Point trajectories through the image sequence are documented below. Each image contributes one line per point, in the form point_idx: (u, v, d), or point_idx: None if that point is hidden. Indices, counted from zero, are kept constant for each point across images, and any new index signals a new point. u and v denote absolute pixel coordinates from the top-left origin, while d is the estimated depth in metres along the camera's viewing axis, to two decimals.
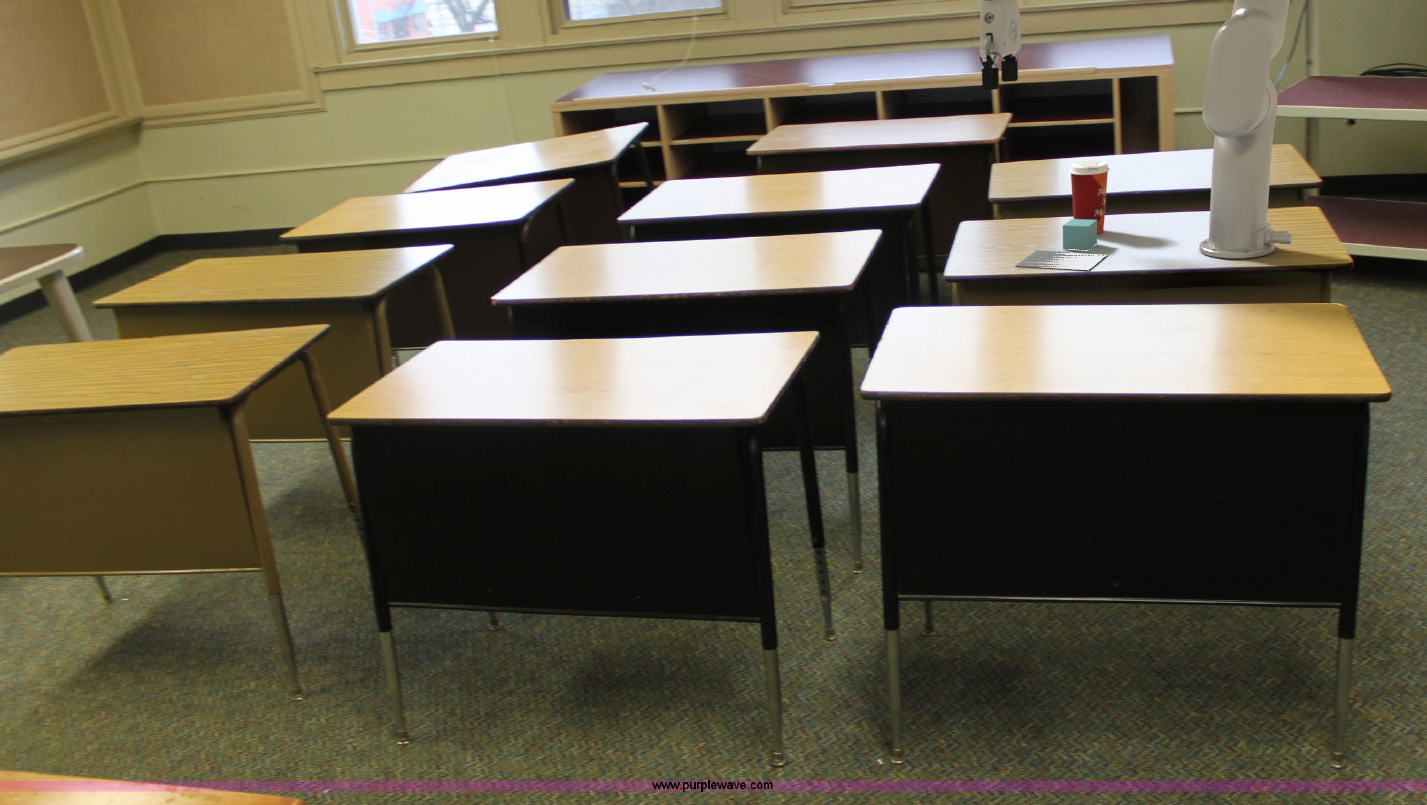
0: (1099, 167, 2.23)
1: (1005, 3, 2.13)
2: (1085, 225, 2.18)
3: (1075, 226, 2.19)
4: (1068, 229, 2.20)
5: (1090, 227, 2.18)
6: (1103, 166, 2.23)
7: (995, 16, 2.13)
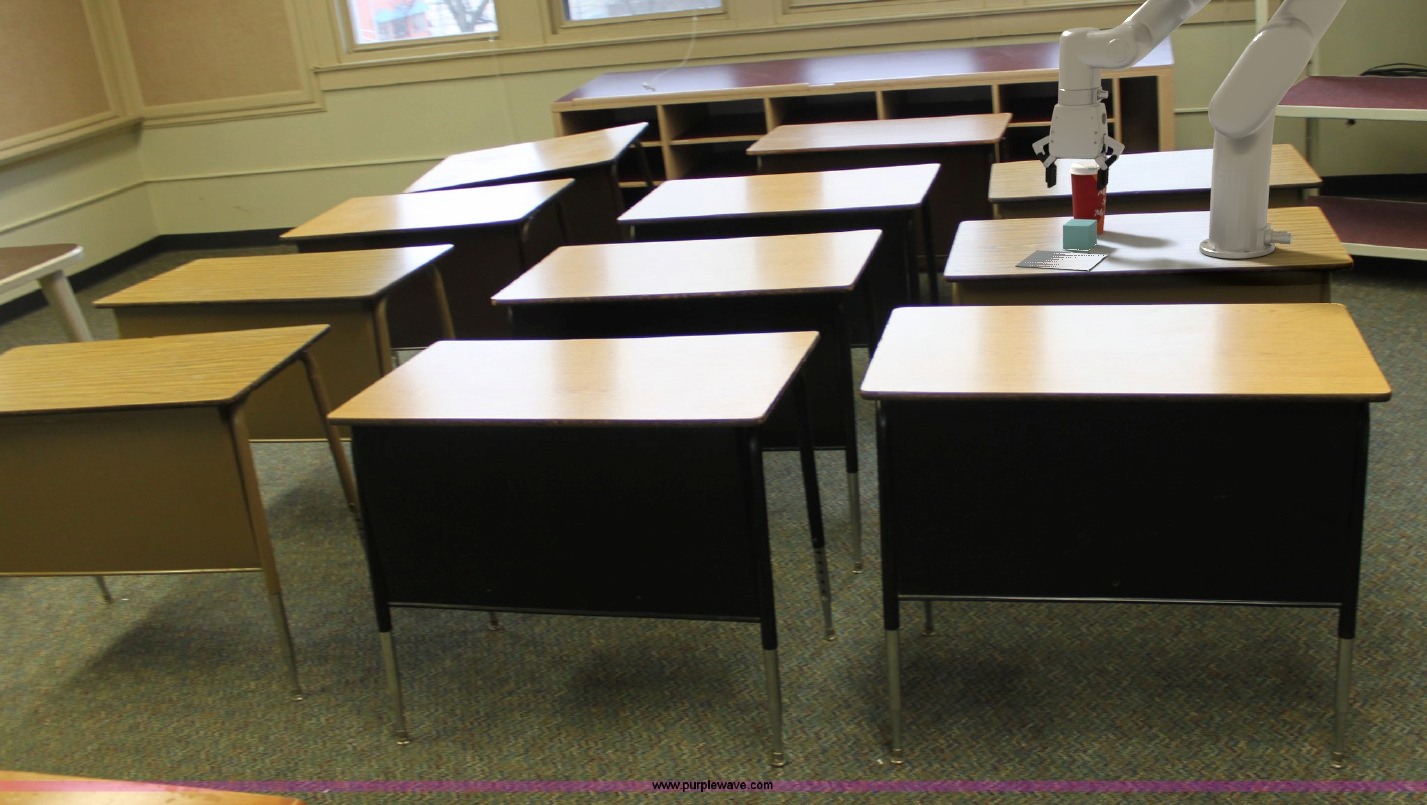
0: (1099, 167, 2.23)
1: None
2: (1085, 225, 2.18)
3: (1075, 226, 2.19)
4: (1068, 229, 2.20)
5: (1090, 227, 2.18)
6: None
7: (1106, 116, 2.11)
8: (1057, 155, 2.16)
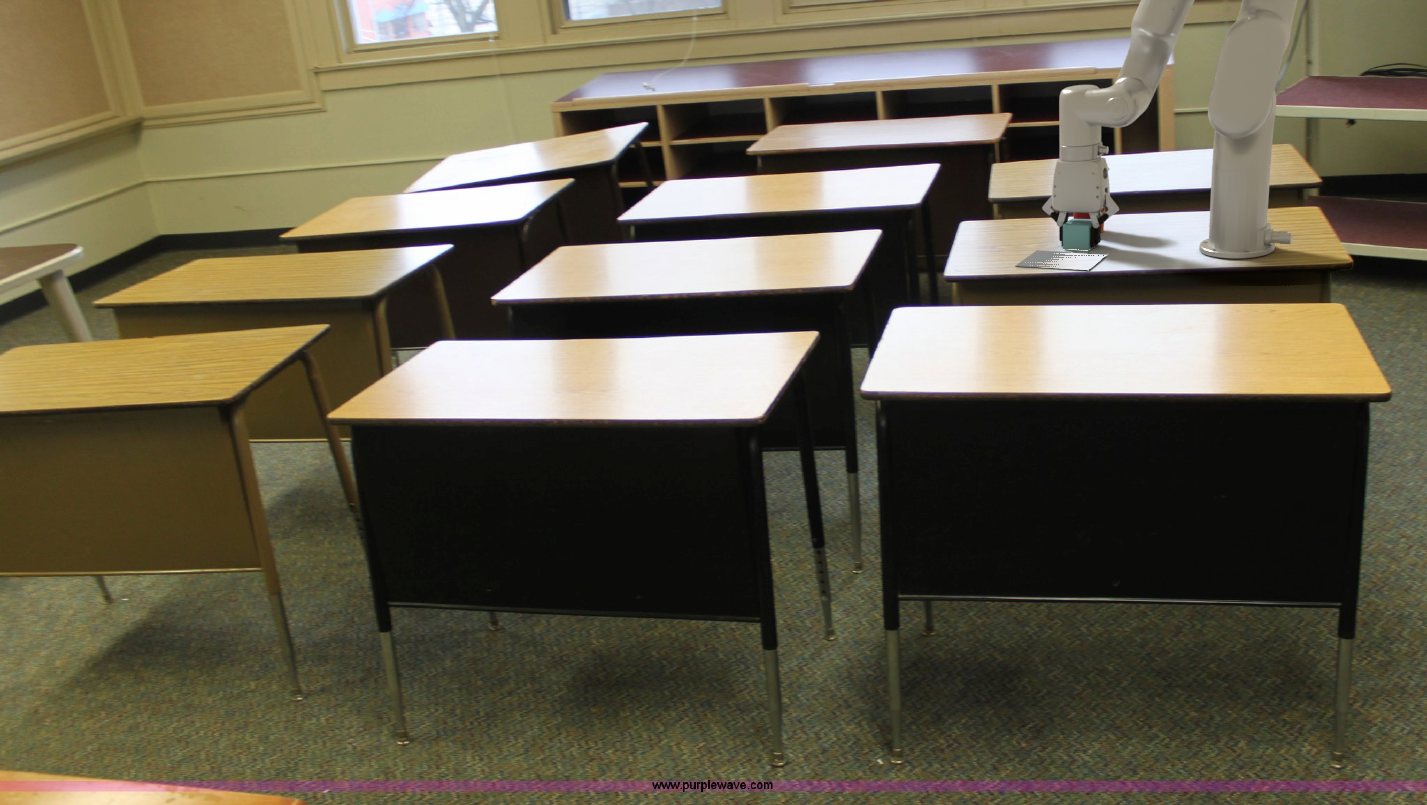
0: None
1: None
2: (1085, 225, 2.18)
3: (1075, 226, 2.19)
4: (1068, 229, 2.20)
5: (1090, 227, 2.18)
6: None
7: (1107, 171, 2.15)
8: (1060, 209, 2.19)
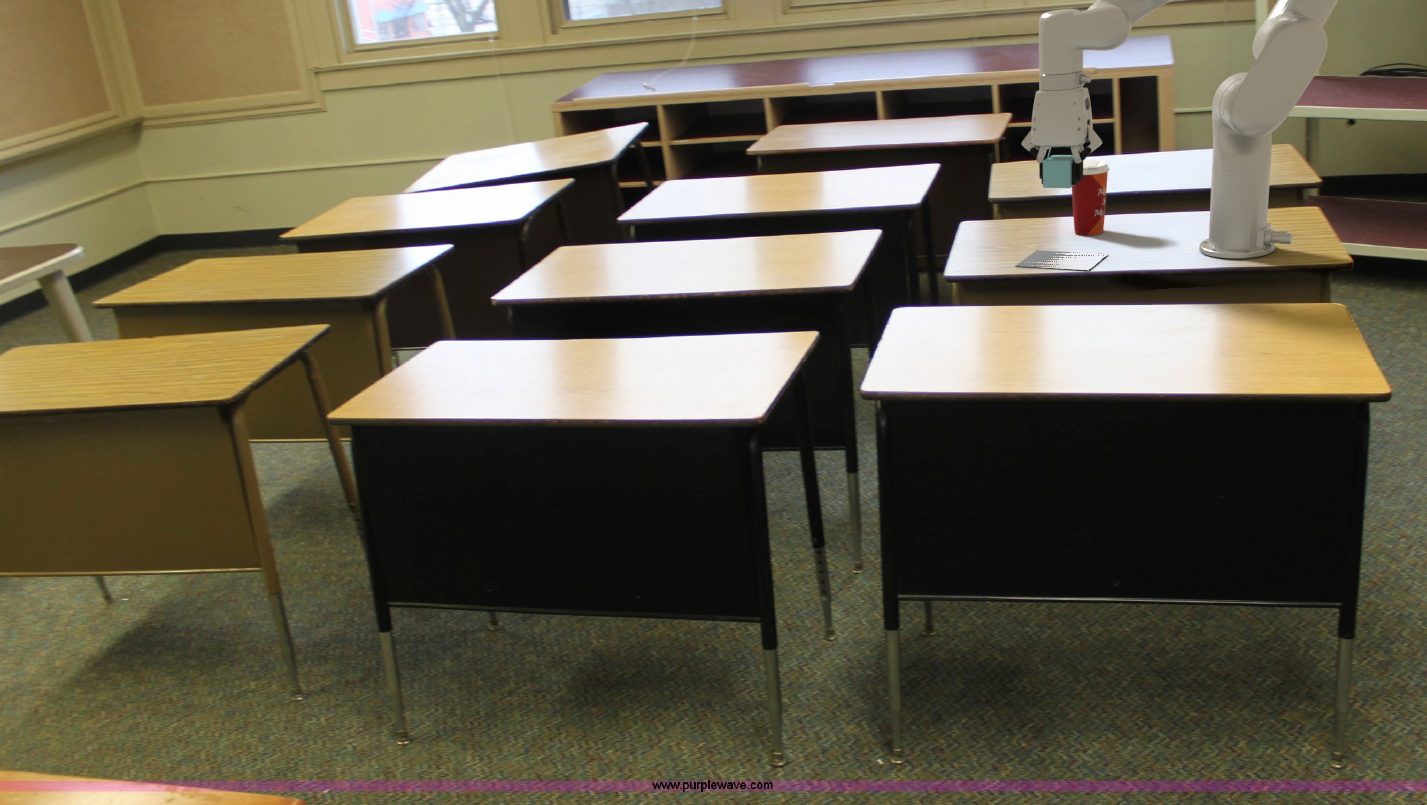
0: (1099, 167, 2.23)
1: None
2: (1066, 160, 2.05)
3: (1056, 161, 2.06)
4: (1048, 165, 2.07)
5: (1072, 162, 2.05)
6: (1103, 166, 2.23)
7: (1089, 101, 2.02)
8: (1040, 143, 2.07)
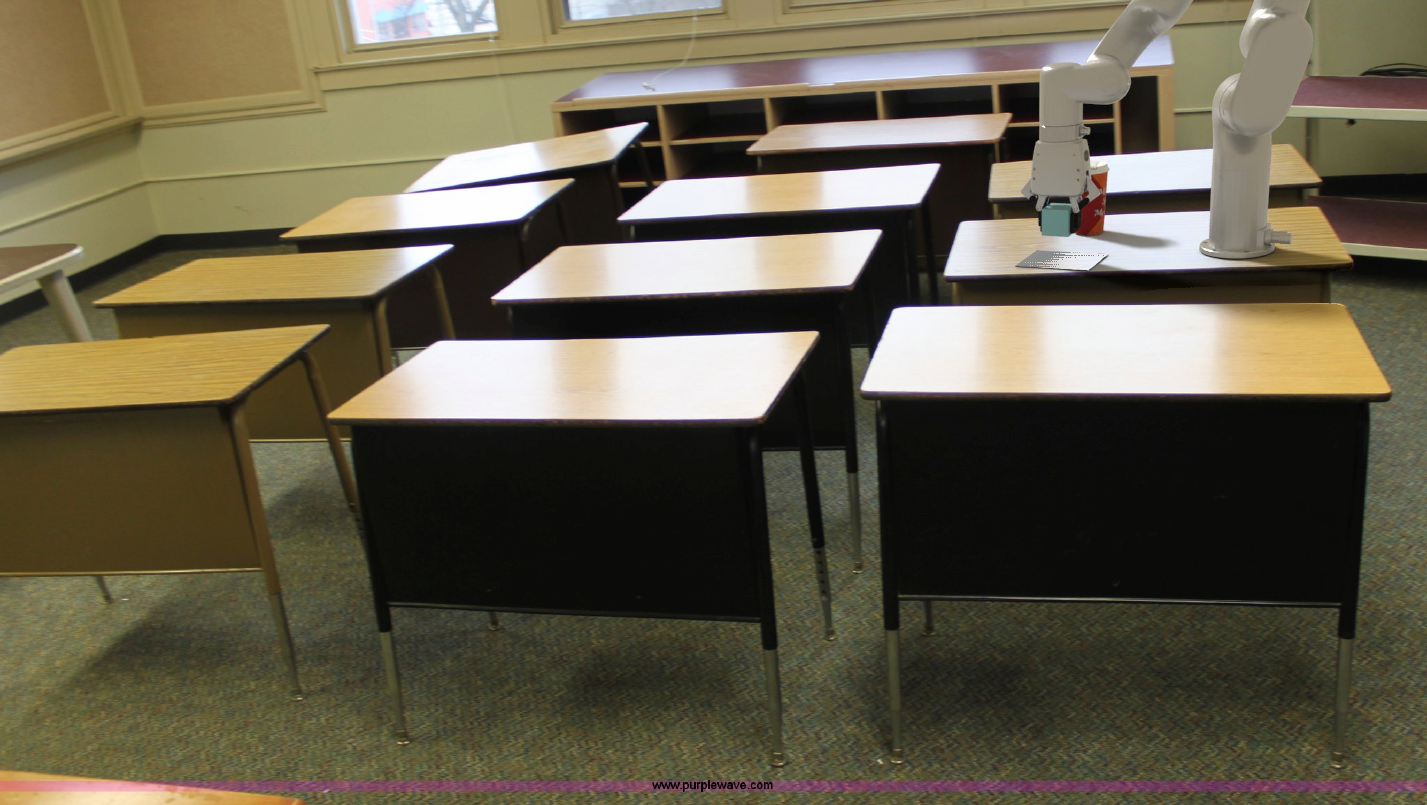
0: (1099, 167, 2.23)
1: None
2: (1065, 209, 2.09)
3: (1054, 210, 2.09)
4: (1047, 213, 2.10)
5: (1070, 212, 2.09)
6: (1103, 166, 2.23)
7: (1088, 153, 2.05)
8: (1039, 192, 2.10)
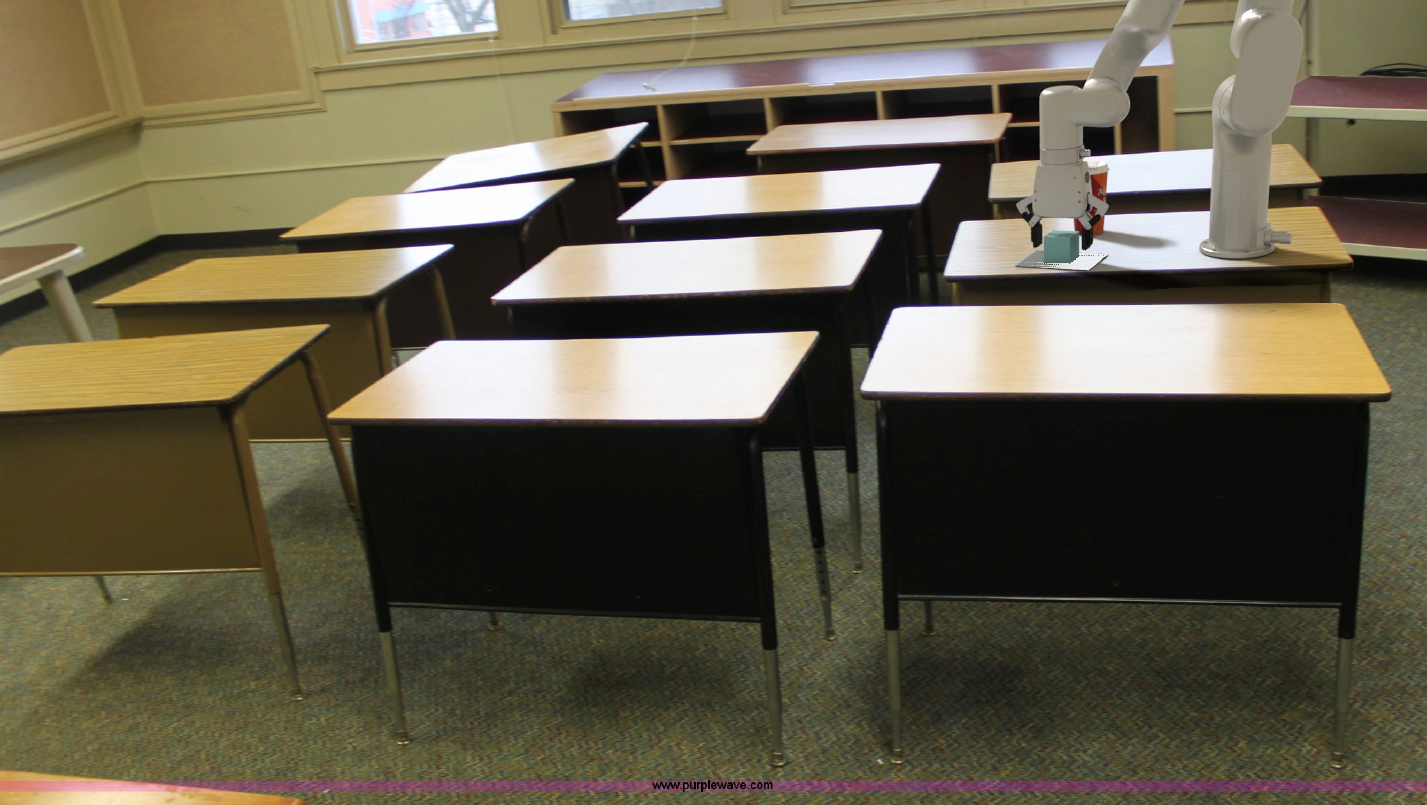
0: (1099, 167, 2.23)
1: None
2: (1066, 237, 2.11)
3: (1056, 238, 2.11)
4: (1049, 241, 2.12)
5: (1072, 239, 2.11)
6: (1103, 166, 2.23)
7: (1089, 175, 2.07)
8: (1041, 214, 2.12)
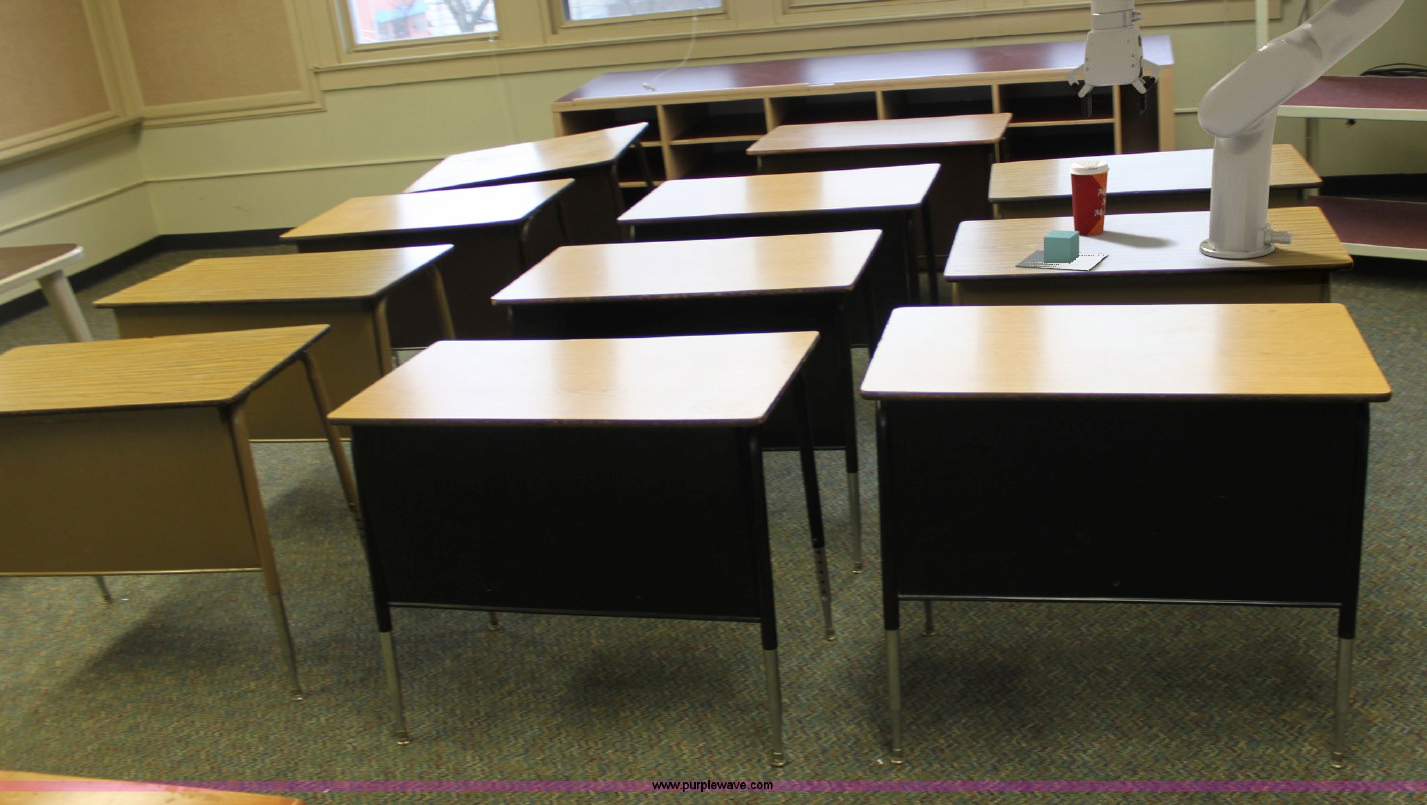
0: (1099, 167, 2.23)
1: None
2: (1066, 237, 2.11)
3: (1056, 238, 2.11)
4: (1049, 241, 2.12)
5: (1072, 239, 2.11)
6: (1103, 166, 2.23)
7: (1141, 39, 2.08)
8: (1093, 83, 2.12)
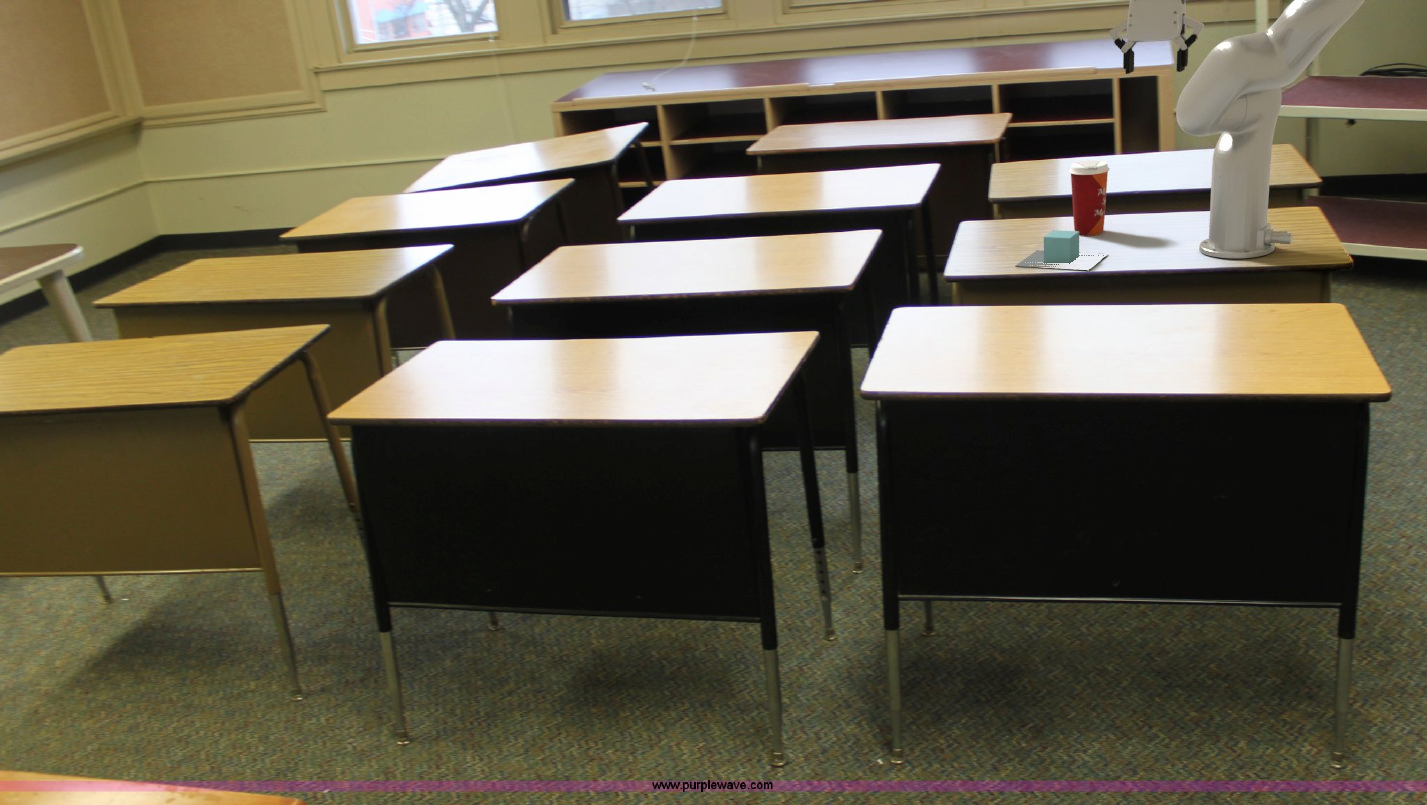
0: (1099, 167, 2.23)
1: None
2: (1066, 237, 2.11)
3: (1056, 238, 2.11)
4: (1049, 241, 2.12)
5: (1072, 239, 2.11)
6: (1103, 166, 2.23)
7: None
8: (1136, 39, 2.18)
